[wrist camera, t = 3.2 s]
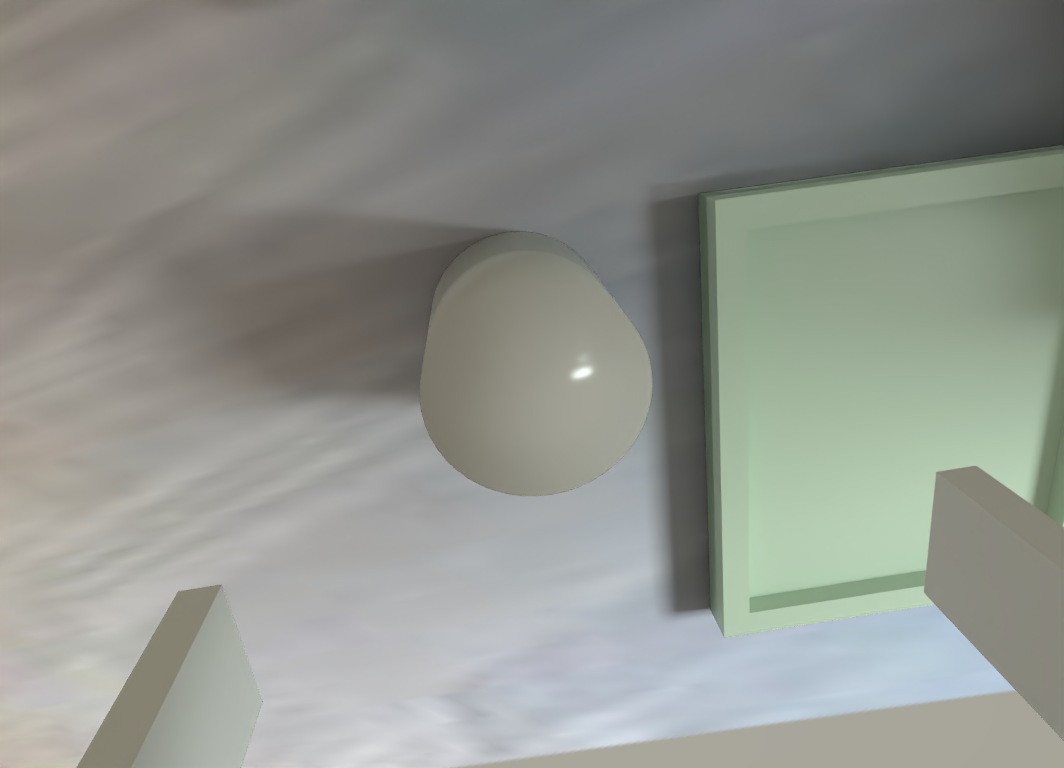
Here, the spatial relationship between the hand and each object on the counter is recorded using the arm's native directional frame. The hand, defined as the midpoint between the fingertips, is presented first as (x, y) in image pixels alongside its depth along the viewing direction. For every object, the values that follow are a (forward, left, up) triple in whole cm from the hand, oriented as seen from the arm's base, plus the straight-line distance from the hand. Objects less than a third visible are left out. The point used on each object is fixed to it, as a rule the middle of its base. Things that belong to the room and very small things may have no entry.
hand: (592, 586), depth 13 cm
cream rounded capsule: (0, 0, -17) cm, 17 cm away
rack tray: (+6, +16, -17) cm, 24 cm away
